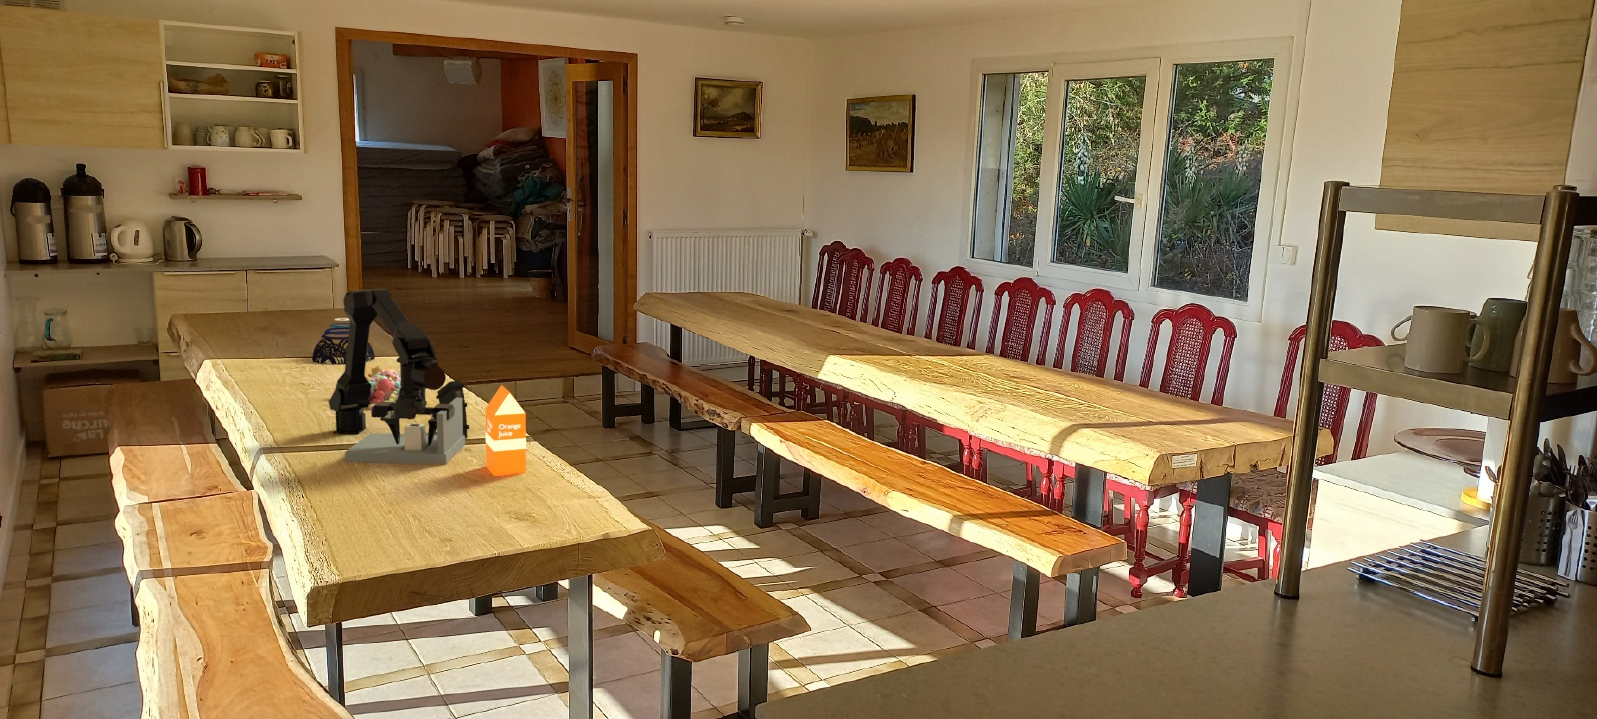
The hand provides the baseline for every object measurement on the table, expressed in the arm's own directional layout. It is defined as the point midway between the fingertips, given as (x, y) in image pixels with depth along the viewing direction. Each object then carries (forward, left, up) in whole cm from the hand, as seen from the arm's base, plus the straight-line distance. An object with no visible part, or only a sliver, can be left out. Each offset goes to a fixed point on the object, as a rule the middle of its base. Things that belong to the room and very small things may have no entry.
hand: (413, 444), depth 274 cm
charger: (0, 0, -3) cm, 3 cm away
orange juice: (+24, -9, -3) cm, 26 cm away
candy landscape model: (-28, +62, -4) cm, 68 cm away
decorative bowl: (-60, +122, -4) cm, 136 cm away
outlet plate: (-3, +3, -3) cm, 5 cm away
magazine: (+3, +23, -3) cm, 23 cm away
